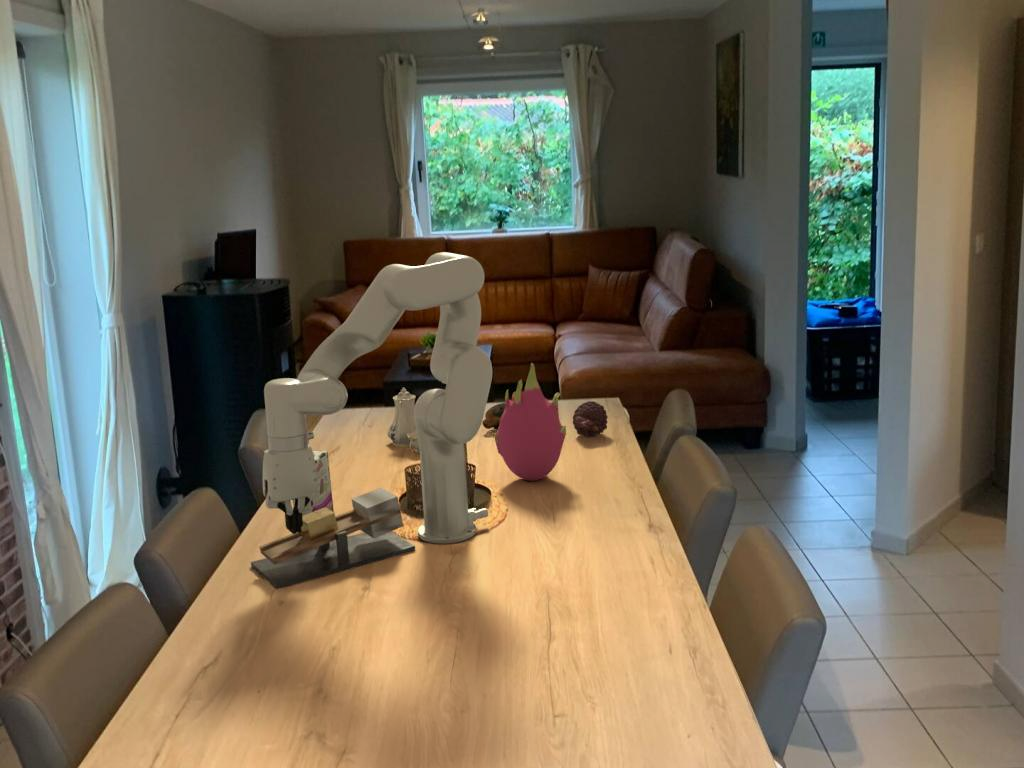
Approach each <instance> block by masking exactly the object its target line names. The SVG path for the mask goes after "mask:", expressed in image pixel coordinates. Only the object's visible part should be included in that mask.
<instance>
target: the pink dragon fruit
mask: <svg viewBox="0 0 1024 768" xmlns="http://www.w3.org/2000/svg"><path fill="white" fill-rule="evenodd" d="M537 379H538V378H537V375H536V367H535V364H534V363H533V362H531V363H530V369H529V372H528V375H527V379H526V382H525V386H524V385H523V380H522V378H520V380H518V381H517V382H518V383H517V386H516V391H514V392H512V394H511V395H512V396H511V399H509V389H507V390H506V392H505V396H504V399H505V400H504V401H505V402H504V403H505V410H504V412H503V414H502V416H501V419H500V424H499V428H498V430H497V431H496V432H494V441H495V445H496V450H497V453H498V454H499V455H500V456H501V458H502V459H503V461H504V463H505V465H506V466H507V468H508V469H509V470H510V472H512V473H513V475H515V476H517V477H518V478H520V479H522V480H525V481H529V482H530V481H537V480H538V481H539V480H541V479H543V478H545V477H547V476H548V475H549V474H550V473H551V472H552V471H553V469H554V468H555V467H556V466H557V463H558V461H559V459H560V457H561V454H562V453H561V452H562V448H563V446H564V443H565V438H566V436H567V426H566V425H562V423H561V420H560V416H559V415H560V414H559V397H560V396H561V393H560V392H556V393H555V394H553V395H554V396H553V398H552V401H551V402H550V401H549V400H548V398H546V396H544V394H543V392H542V389H541V386H540V385H539V382H538V380H537ZM523 386H524V390H523Z"/></svg>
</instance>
